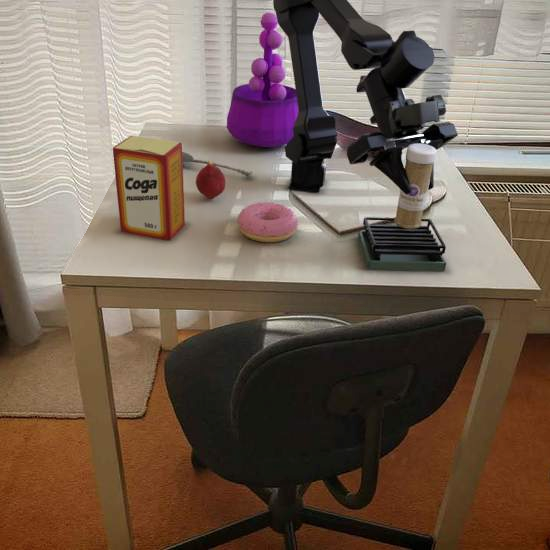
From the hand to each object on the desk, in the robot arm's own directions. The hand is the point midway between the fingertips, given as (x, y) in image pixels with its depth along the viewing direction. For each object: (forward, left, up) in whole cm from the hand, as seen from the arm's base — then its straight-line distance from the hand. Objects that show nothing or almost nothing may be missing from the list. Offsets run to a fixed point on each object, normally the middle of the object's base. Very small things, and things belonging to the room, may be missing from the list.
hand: (419, 191), depth 98 cm
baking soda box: (-45, -3, -13) cm, 47 cm away
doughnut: (-25, +3, -13) cm, 29 cm away
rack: (-1, +2, -13) cm, 13 cm away
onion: (-39, +13, -13) cm, 43 cm away
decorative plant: (-37, +48, -13) cm, 62 cm away
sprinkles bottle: (-1, +1, -7) cm, 7 cm away
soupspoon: (-45, +27, -13) cm, 54 cm away
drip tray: (-1, +2, -13) cm, 13 cm away
